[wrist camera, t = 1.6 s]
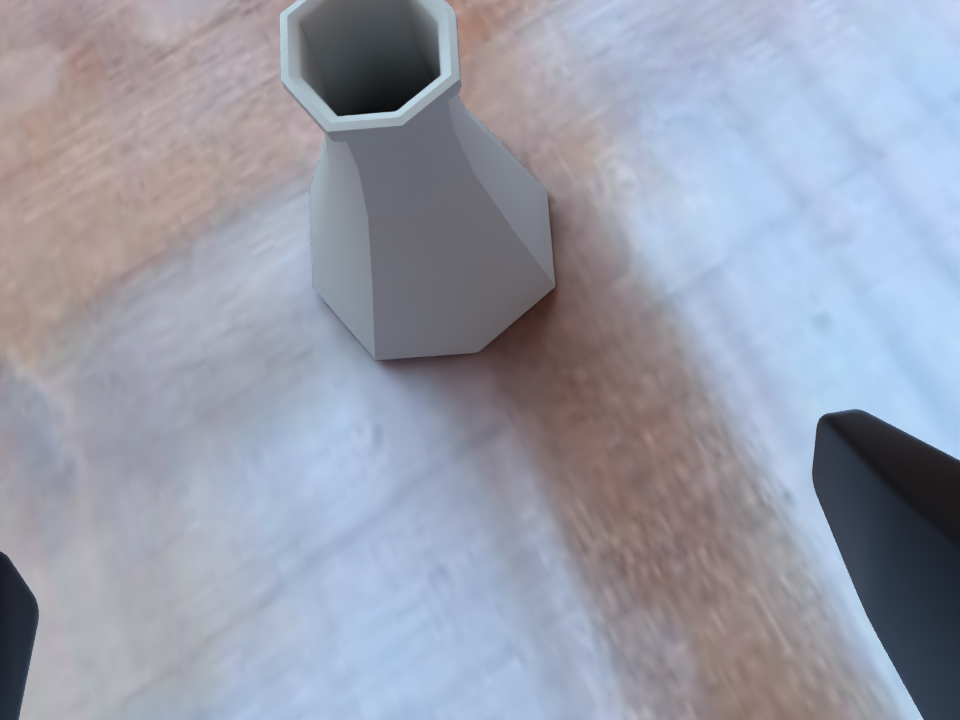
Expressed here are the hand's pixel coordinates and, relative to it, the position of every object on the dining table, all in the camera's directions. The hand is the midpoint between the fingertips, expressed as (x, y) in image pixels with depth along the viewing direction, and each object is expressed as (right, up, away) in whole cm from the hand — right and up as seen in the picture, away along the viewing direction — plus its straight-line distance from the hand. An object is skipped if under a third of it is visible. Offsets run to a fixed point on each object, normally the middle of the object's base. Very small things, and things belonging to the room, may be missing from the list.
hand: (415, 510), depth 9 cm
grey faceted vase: (-1, +5, +15) cm, 16 cm away
